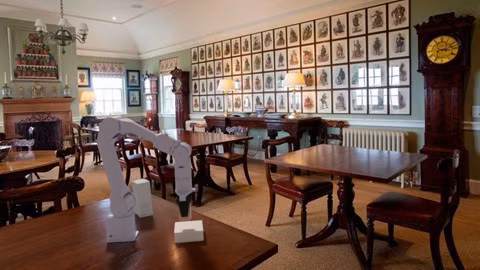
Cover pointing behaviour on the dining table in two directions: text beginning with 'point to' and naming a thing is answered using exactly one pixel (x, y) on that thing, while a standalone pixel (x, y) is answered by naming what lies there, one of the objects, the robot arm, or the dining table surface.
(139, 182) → the skincare box
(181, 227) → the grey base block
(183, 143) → the robot arm
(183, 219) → the terracotta block
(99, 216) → the dining table surface
